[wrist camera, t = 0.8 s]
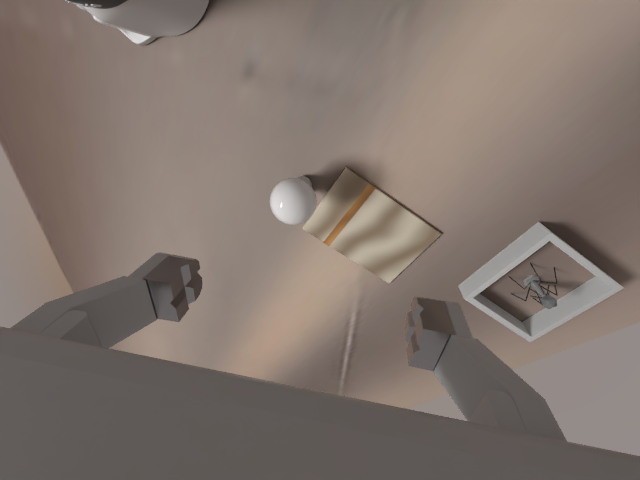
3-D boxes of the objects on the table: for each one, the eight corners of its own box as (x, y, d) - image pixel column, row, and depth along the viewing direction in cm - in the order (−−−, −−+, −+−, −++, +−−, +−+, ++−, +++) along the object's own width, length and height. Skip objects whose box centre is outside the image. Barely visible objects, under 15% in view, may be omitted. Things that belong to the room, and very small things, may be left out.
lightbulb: (315, 207, 48) (302, 240, 38) (279, 192, 47) (258, 221, 38) (329, 173, 45) (320, 199, 35) (291, 156, 44) (271, 179, 35)
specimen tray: (458, 285, 52) (463, 298, 49) (538, 221, 44) (551, 232, 41) (521, 327, 54) (530, 342, 51) (607, 274, 47) (623, 288, 44)
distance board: (302, 227, 50) (302, 229, 49) (346, 166, 44) (345, 167, 43) (388, 281, 53) (389, 283, 53) (440, 232, 47) (441, 234, 46)
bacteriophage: (497, 282, 51) (514, 308, 45) (541, 254, 47) (565, 279, 41) (522, 303, 52) (541, 332, 46) (566, 278, 48) (593, 305, 43)
